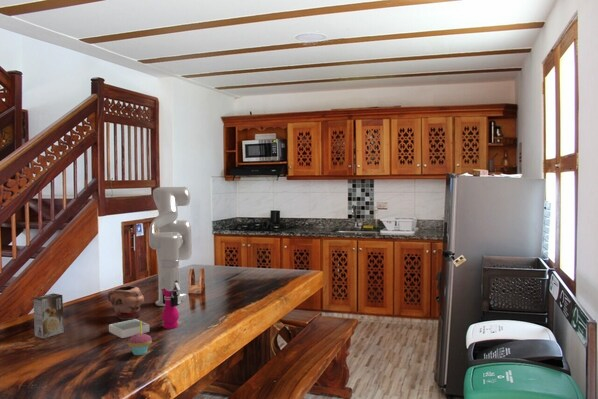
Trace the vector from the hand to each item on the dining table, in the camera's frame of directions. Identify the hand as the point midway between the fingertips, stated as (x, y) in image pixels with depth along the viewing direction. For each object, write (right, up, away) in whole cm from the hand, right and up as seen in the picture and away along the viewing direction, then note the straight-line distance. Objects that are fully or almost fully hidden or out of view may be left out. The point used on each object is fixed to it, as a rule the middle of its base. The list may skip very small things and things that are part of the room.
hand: (170, 304), depth 217 cm
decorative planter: (-25, -9, +15) cm, 30 cm away
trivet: (-15, -10, -7) cm, 20 cm away
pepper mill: (0, -10, 0) cm, 10 cm away
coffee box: (-47, -10, -11) cm, 50 cm away
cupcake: (-3, -11, -33) cm, 35 cm away
